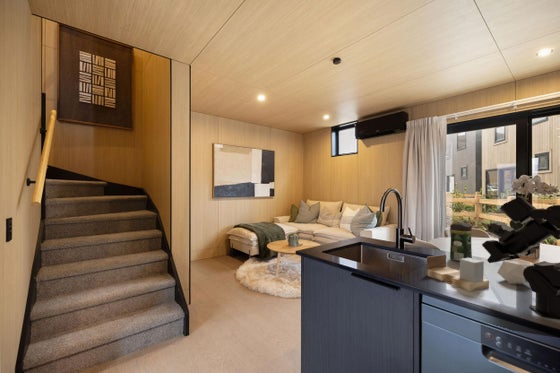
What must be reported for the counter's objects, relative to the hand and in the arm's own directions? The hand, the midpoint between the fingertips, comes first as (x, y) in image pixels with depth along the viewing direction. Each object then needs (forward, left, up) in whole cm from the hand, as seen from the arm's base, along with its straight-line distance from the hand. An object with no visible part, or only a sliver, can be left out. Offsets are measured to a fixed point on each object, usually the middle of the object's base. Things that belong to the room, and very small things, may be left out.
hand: (488, 261), depth 87 cm
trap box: (+8, +7, -11) cm, 15 cm away
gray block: (+4, +3, -8) cm, 10 cm away
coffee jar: (+41, -4, -11) cm, 43 cm away
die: (+14, -13, -11) cm, 22 cm away
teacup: (+25, -21, -11) cm, 35 cm away
